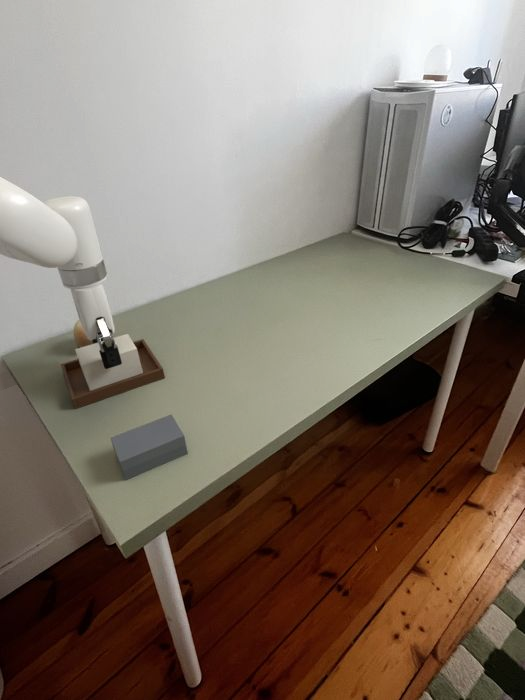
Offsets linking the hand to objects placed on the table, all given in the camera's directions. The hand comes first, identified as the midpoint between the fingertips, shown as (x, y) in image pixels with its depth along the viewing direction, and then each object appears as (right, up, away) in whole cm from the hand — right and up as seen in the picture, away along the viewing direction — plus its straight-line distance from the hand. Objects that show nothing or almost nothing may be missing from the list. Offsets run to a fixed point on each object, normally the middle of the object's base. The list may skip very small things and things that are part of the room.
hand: (107, 353), depth 84 cm
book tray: (0, -4, +3) cm, 5 cm away
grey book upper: (+13, -14, -17) cm, 25 cm away
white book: (0, -1, 0) cm, 1 cm away
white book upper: (0, -2, +2) cm, 3 cm away
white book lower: (0, -4, +3) cm, 5 cm away
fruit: (-7, +1, +13) cm, 15 cm away
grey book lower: (+13, -16, -15) cm, 26 cm away
